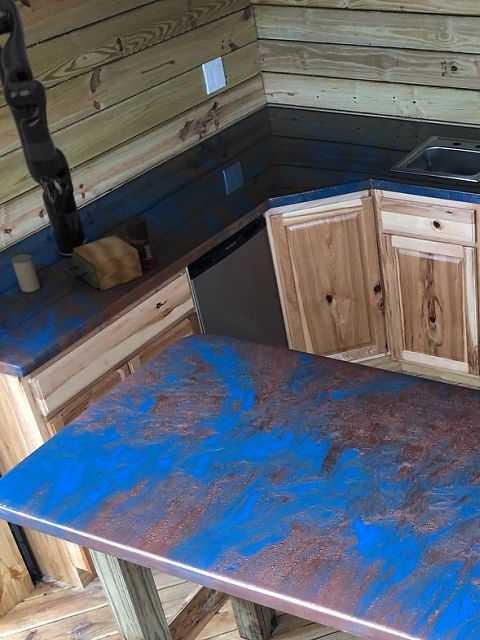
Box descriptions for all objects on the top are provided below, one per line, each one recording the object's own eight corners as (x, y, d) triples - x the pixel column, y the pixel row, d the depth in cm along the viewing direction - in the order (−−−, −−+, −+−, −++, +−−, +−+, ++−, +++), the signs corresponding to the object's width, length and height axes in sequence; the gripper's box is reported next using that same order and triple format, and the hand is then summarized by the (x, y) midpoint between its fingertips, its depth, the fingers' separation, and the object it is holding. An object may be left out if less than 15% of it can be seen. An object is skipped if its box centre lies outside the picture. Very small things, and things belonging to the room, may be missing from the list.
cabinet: (101, 290, 275) (94, 264, 270) (80, 274, 284) (72, 248, 279) (143, 275, 283) (137, 249, 277) (121, 260, 291) (114, 234, 286)
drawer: (82, 293, 272) (76, 272, 268) (62, 278, 280) (56, 257, 276) (134, 275, 281) (129, 254, 277) (113, 260, 289) (108, 240, 285)
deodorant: (149, 269, 286) (139, 225, 277) (132, 268, 287) (121, 223, 278) (158, 261, 290) (148, 217, 281) (140, 260, 291) (130, 215, 282)
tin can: (18, 288, 278) (8, 258, 271) (35, 282, 280) (26, 252, 274) (25, 294, 274) (15, 264, 268) (43, 288, 277) (33, 258, 271)
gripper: (65, 157, 252) (81, 216, 263) (45, 146, 260) (62, 203, 271) (39, 165, 248) (56, 224, 259) (20, 152, 256) (37, 211, 267)
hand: (59, 213), depth 265 cm, fingers closed
